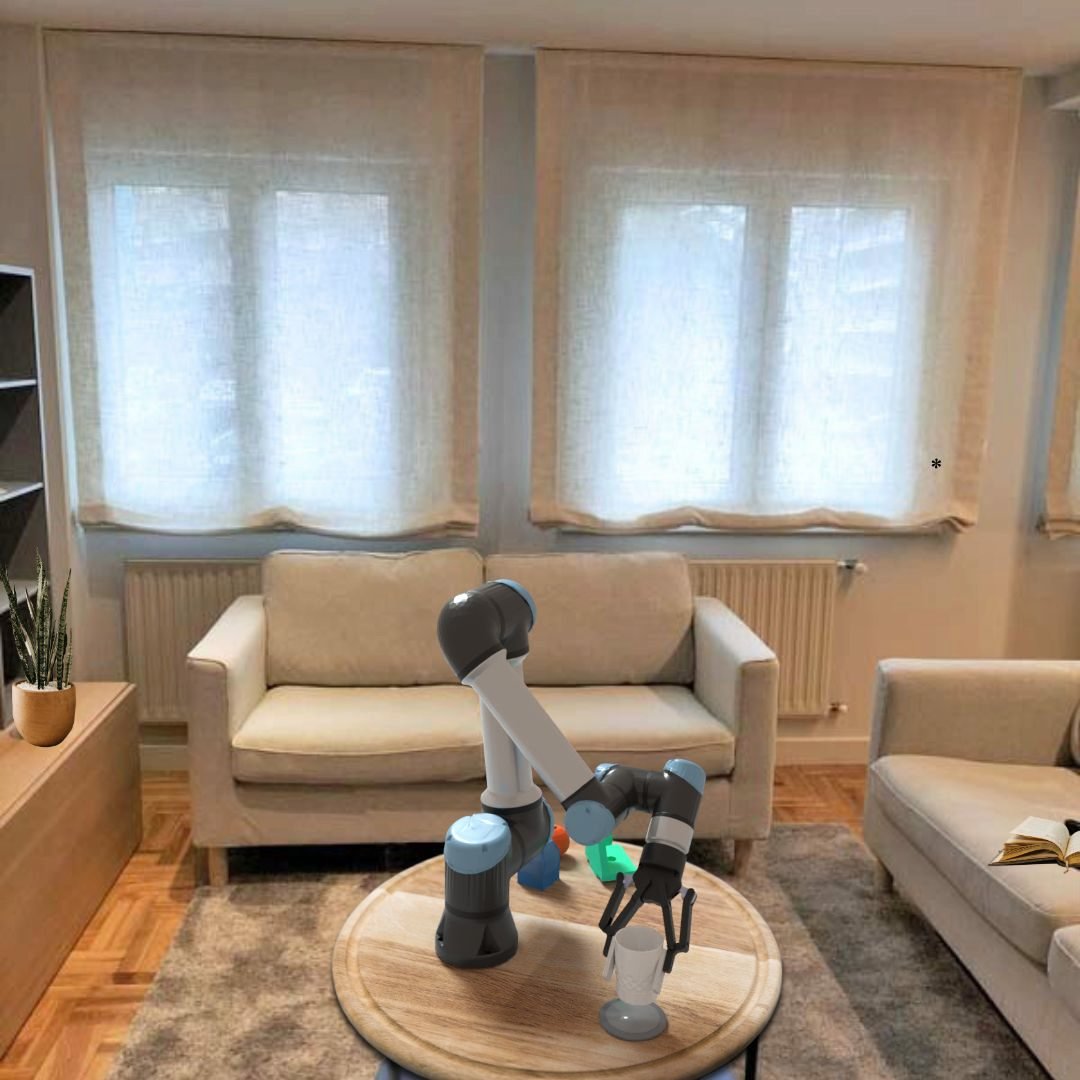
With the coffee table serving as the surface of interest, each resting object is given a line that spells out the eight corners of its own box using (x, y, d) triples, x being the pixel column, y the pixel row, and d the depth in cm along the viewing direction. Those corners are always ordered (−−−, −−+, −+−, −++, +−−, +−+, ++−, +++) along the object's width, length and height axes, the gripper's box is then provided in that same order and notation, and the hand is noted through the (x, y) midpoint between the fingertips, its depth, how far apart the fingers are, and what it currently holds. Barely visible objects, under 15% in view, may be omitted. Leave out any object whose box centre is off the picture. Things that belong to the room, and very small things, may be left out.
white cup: (631, 974, 191) (633, 920, 189) (670, 992, 186) (673, 937, 184) (603, 995, 185) (604, 939, 183) (643, 1014, 180) (645, 957, 178)
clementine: (526, 854, 242) (526, 823, 240) (547, 844, 247) (548, 813, 245) (554, 867, 236) (555, 835, 235) (576, 856, 241) (577, 825, 240)
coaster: (589, 1029, 184) (589, 1025, 184) (613, 993, 193) (613, 989, 193) (653, 1048, 179) (653, 1044, 179) (675, 1010, 189) (675, 1006, 189)
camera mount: (637, 882, 231) (639, 835, 229) (601, 886, 229) (603, 839, 227) (619, 855, 243) (620, 810, 241) (584, 858, 241) (586, 813, 239)
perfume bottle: (559, 878, 232) (560, 824, 229) (543, 891, 227) (544, 835, 224) (533, 870, 235) (534, 816, 233) (517, 882, 230) (518, 827, 227)
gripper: (728, 869, 191) (696, 1008, 180) (614, 845, 200) (577, 975, 188) (721, 853, 185) (688, 995, 174) (604, 829, 194) (565, 963, 183)
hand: (630, 985), depth 181 cm, fingers closed on white cup, 8 cm apart
